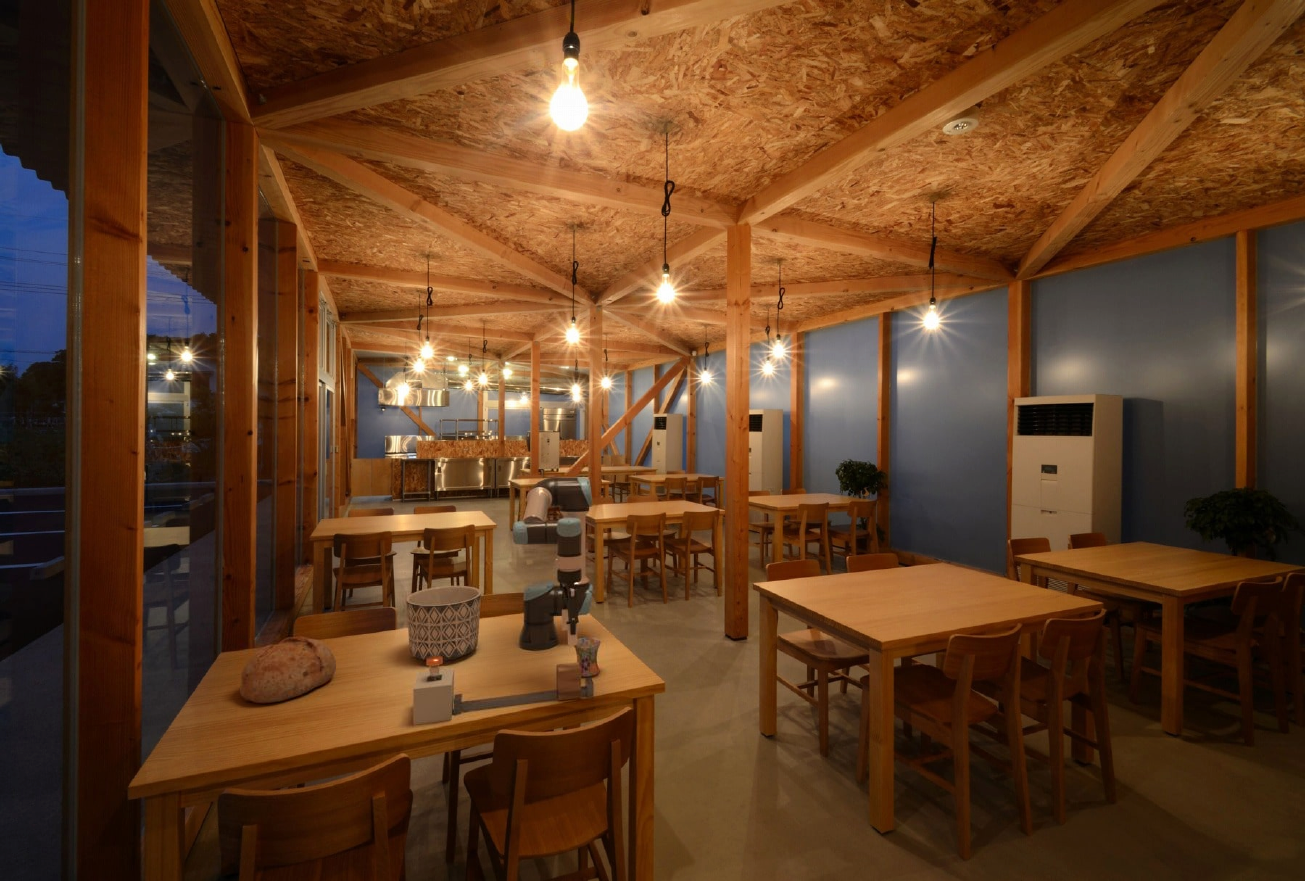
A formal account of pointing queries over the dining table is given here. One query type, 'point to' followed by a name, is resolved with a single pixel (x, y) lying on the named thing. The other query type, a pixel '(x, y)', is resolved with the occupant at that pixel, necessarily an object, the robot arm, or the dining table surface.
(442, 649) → the planter
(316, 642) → the bread
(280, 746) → the dining table surface
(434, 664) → the push button
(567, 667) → the block
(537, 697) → the rail
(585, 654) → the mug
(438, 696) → the knob base
